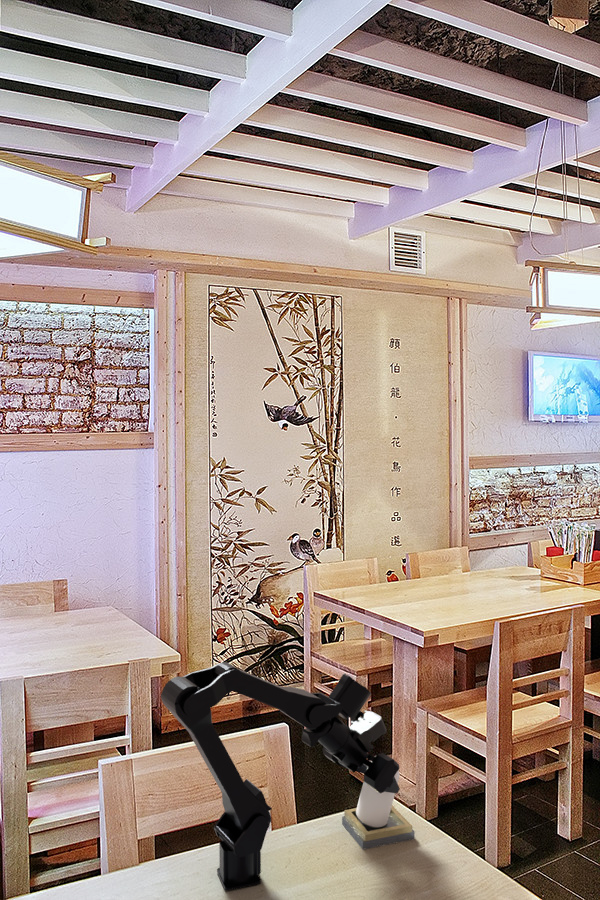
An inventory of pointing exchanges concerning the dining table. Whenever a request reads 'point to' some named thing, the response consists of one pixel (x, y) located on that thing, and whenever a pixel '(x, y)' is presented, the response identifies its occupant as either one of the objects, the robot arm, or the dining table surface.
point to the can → (375, 805)
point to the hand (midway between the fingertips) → (383, 781)
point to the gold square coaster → (378, 830)
